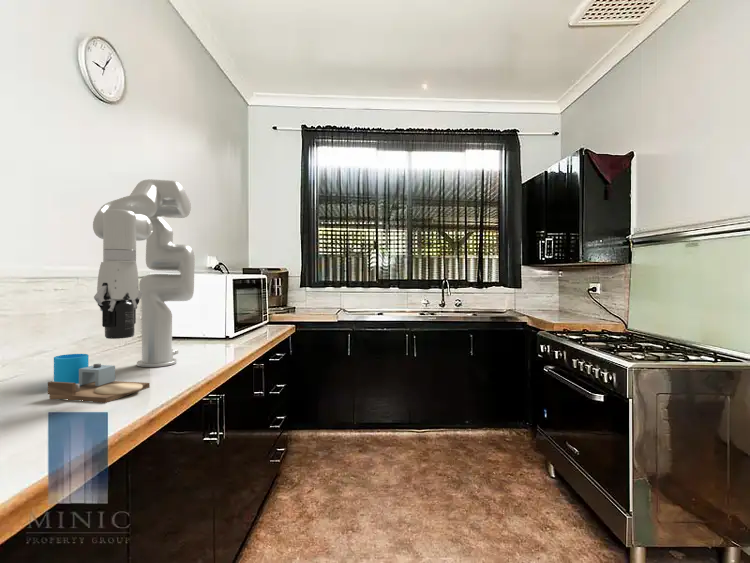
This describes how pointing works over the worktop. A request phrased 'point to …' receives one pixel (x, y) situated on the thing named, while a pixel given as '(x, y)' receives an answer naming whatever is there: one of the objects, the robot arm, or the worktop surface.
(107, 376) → the cover
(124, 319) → the supplement bottle
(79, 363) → the mug
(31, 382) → the worktop surface
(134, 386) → the board
